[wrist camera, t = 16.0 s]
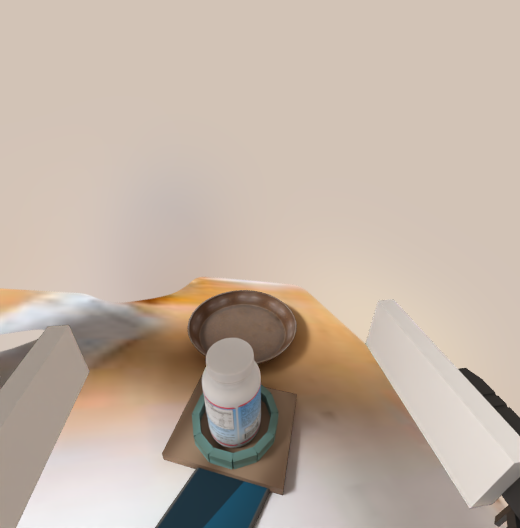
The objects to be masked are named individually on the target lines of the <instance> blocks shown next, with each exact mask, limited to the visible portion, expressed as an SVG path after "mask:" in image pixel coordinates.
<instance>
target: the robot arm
mask: <svg viewBox="0 0 520 528" xmlns="http://www.w3.org/2000/svg"><path fill="white" fill-rule="evenodd" d="M366 345H367V347H368V349H369V350H370V352H371V353H372V355H373V356H374V358H375V360H376V361H377V363H378V364H379V366H380V367H381V369H382V371H383V372H384V374H385V375H386V377H387V379H388V380H389V382H390V383H391V385H392V386H393V388H394V390H395V391H396V393H397V394H398V396H399V398H400V399H401V401H402V402H403V404H404V405H405V407H406V409H407V410H408V412H409V413H410V415H411V417H412V418H413V420H414V421H415V423H416V424H417V426H418V428H419V429H420V431H421V432H422V434H423V435H424V437H425V439H426V440H427V442H428V443H429V445H430V447H431V448H432V450H433V451H434V453H435V454H436V456H437V458H438V459H439V461H440V462H441V464H442V466H443V467H444V469H445V470H446V472H447V473H448V475H449V477H450V478H451V480H452V481H453V483H454V485H455V486H456V488H457V489H458V491H459V492H460V494H461V496H462V497H463V499H464V500H465V502H466V504H467V505H468V507H469V508H470V509H471V508H476V507H481V506H486V505H491V504H493V503H494V502H495V501H496V500H497V499H498V498H499V497H500V496H501V495H502V496H503V498H504V499H505V501H506V502H507V503H508V506H507V507H506V508H505V509H504V510H502V511H501V512H500V513H499V514H498V515H497V516H496V517H495V523H494V524H495V525H497V526H500V525H502V524H503V523H504V522H505V521H506V520H507V525H508V526H507V528H520V418H519V417H518V416H517V415H516V413H514V411H512V409H511V408H508V407H507V405H506V403H505V402H504V401H503V400H502V399H501V398H500V397H499V396H496V394H495V392H494V391H493V390H492V389H491V388H490V387H489V386H488V385H487V384H486V383H485V382H484V381H483V380H482V379H481V378H480V377H478V376H476V375H475V374H474V373H472V372H471V371H469V370H468V369H466V368H461V369H457V368H456V366H455V365H454V364H453V363H452V362H451V361H450V360H449V359H448V358H447V357H446V356H445V355H444V353H443V352H442V351H441V350H440V349H439V348H438V347H437V346H436V345H435V344H434V343H433V342H432V340H430V338H429V337H428V336H427V335H426V334H425V333H424V332H423V331H422V330H421V328H420V327H419V326H418V325H417V324H416V323H415V322H414V321H413V320H412V319H411V318H410V317H409V315H408V314H407V313H406V312H405V311H404V310H403V309H402V308H401V307H400V306H399V305H398V304H397V302H395V300H394V299H392V300H381V301H378V303H377V307H376V310H375V313H374V317H373V320H372V324H371V327H370V330H369V334H368V337H367V341H366ZM88 374H89V369H88V367H87V365H86V362H85V360H84V358H83V356H82V353H81V351H80V349H79V347H78V344H77V342H76V340H75V338H74V335H73V333H72V331H71V329H70V326H69V325H62V326H49V327H47V328H46V330H45V331H44V332H43V334H42V335H41V336H40V338H39V339H38V340H37V342H36V343H35V344H34V345H33V347H32V348H31V349H30V351H29V352H28V353H27V355H26V356H25V357H24V359H23V360H22V361H21V363H20V364H19V365H18V367H17V368H16V369H15V371H14V372H13V373H12V375H11V376H10V377H9V379H8V380H7V381H6V383H5V384H4V385H3V387H2V388H1V389H0V528H16V526H17V524H18V522H19V520H20V518H21V516H22V514H23V512H24V510H25V507H26V505H27V503H28V501H29V499H30V497H31V495H32V493H33V490H34V488H35V486H36V484H37V482H38V480H39V478H40V476H41V473H42V471H43V469H44V467H45V465H46V463H47V461H48V459H49V456H50V454H51V452H52V450H53V448H54V446H55V444H56V442H57V439H58V437H59V435H60V433H61V431H62V429H63V427H64V425H65V422H66V420H67V418H68V416H69V414H70V412H71V410H72V408H73V405H74V403H75V401H76V399H77V397H78V395H79V393H80V391H81V388H82V386H83V384H84V382H85V380H86V378H87V376H88Z"/></svg>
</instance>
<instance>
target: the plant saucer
mask: <svg viewBox="0 0 520 528" xmlns="http://www.w3.org/2000/svg"><path fill="white" fill-rule="evenodd" d="M295 333H296V320H295V317H294V315H293V313H292V311H291V310H290V309H289V307H288V306H287V305H286V304H284V303H283V302H282V301H280V300H279V299H277V298H275V297H273V296H271V295H268V294H265V293H262V292H257V291H248V290H240V291H231V292H226V293H222V294H219V295H216V296H214V297H211V298H209V299H208V300H206V301H204V302H203V303H202V304H201V305H199V306H198V307H197V308H196V309H195V311H194V312H193V313H192V315H191V317H190V319H189V323H188V335H189V338H190V340H191V342H192V344H193V345H194V346H195V348H196V349H197V350H198V351H199V352H201V353H202V354H203V355H204V356H206V354H207V352H208V350H209V348H210V347H211V346H212V345H213V344H214V343H216V342H217V341H219V340H222V339H225V338H239V339H242V340H244V341H246V342H247V343H249V344H250V346H251V347H252V349H253V353H254V361H255V362H256V363H257V365H258V364H262V363H265V362H267V361H269V360H271V359H273V358H275V357H277V356H278V355H279V354H281V353H282V352H283V351H284V350H285V349H286V348H287V347H288V346H289V345H290V344H291V342H292V341H293V339H294V337H295Z"/></svg>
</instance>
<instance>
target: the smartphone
mask: <svg viewBox="0 0 520 528" xmlns="http://www.w3.org/2000/svg"><path fill="white" fill-rule="evenodd" d="M269 493H270V489H268V488H265V487H262V486H259V485H255V484H252V483H249V482H245V481H242V480H239V479H235V478H232V477H229V476H225V475H222V474H219V473H215V472H212V471H209V470H205V469H202V468H198V467H197V468H196V470H195V471H194V473H193V474H192V475H191V477H190V478H189V480H188V481H187V483H186V484H185V485H184V487H183V488H182V490H181V491H180V493H179V494H178V496H177V497H176V498H175V500H174V501H173V503H172V504H171V506H170V507H169V508H168V510H167V511H166V513H165V514H164V516H163V517H162V518H161V520H160V521H159V523H158V524H157V526H156V527H155V528H253V527H254V525H255V523H256V521H257V519H258V517H259V515H260V513H261V511H262V509H263V506H264V503H265V501H266V499H267V497H268V495H269Z"/></svg>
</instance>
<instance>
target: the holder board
mask: <svg viewBox="0 0 520 528" xmlns="http://www.w3.org/2000/svg"><path fill="white" fill-rule="evenodd" d="M202 375H203V374H202ZM296 396H297V394H293V393H289V392H284V391H280V390H275V389H271V388H266V387H264V386H263V385H261V423H260V428H259V430H258V432H257V434H256V436H255V437H254V438H253V439H252V440H251V441H250V442H249V443H247V444H246V445H244V446H241V447H237V448H229V447H225V446H222V445H221V444H219V443H218V442H217V441H216V440H215V439H214V438H213V436H212V434H211V432H210V428H209V423H208V418H207V412H206V407H205V400H204V394H203V388H202V376H201V378H200V380H199V382H198V384H197V386H196V388H195V390H194V392H193V394H192V396H191V398H190V400H189V402H188V404H187V405H186V407H185V409H184V411H183V413H182V415H181V417H180V419H179V421H178V423H177V425H176V427H175V429H174V431H173V433H172V435H171V437H170V439H169V441H168V443H167V445H166V447H165V449H164V451H163V453H162V455H163V458H164V460H168V461H171V462H174V463H178V464H181V465H184V466H188V467H191V468H194V469H196V468H197V467H198V468H202V469H205V470H209V471H212V472H215V473H219V474H222V475H225V476H229V477H232V478H235V479H239V480H242V481H245V482H249V483H252V484H255V485H259V486H262V487H265V488H268V489H270V492H274V493H277V494H280V495H283V489H284V482H285V475H286V468H287V461H288V454H289V447H290V439H291V432H292V425H293V418H294V411H295V404H296Z"/></svg>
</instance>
